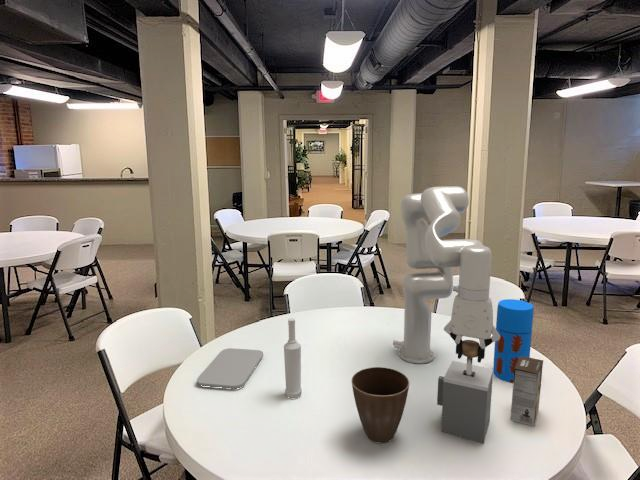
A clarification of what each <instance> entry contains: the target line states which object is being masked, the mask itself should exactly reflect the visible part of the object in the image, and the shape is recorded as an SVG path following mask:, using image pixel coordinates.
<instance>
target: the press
mask: <svg viewBox="0 0 640 480" xmlns="http://www.w3.org/2000/svg"><path fill="white" fill-rule="evenodd" d="M466 368H467V362H462V361H455V360H452V361H451V362H450V364H449V366H448V368H447V370H446V373H445V374H444V376H443V375H441V376H440V375H439V376H438V378H437V397H436V406H440V407H441V426H440V428H441V429H440V433H443V434H446V435H449V436H453V437H458V438H460V439H464V440H466V441H467V440H468V441H470V442H474V443H479V444H482V445H484V444H485V441H486V437H487V432H488V430H489V426H490V425H489V424H490V422H491V421H490V420H491V410H492V409H491V408H492V407H491V406H492V396H493V395H492V394H493V380H494V368H492V367H491V368H490V367H485V366H482V365H475V364H472V377H471V376H466Z"/></svg>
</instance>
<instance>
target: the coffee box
mask: <svg viewBox="0 0 640 480" xmlns="http://www.w3.org/2000/svg"><path fill="white" fill-rule="evenodd" d="M543 365H544V360H543V359H538V358H533V357H530V358H529V357H523V356H520V357H519V359H518V361H517V364H516V366H515V368H514V381H513V383H512V397H511V409H510V421H514V422H517V423H519V424H520V423H521V424H525V425H528V426H531V427H534V426H535V425H536V420H537V417H538V414H539V411H540V410H539V409H540V400H541V399H540V398H541V388H542V380H543V379H542V377H543V368H544V367H543Z"/></svg>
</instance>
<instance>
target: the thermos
mask: <svg viewBox="0 0 640 480" xmlns="http://www.w3.org/2000/svg"><path fill="white" fill-rule="evenodd" d="M496 310H497V311H496V320H495V321H496V322H495V323H496V324H495V325H496V326H495V329H496V330H497V332H498V333H499V335H500V339H499V340H498V341H495V342H494V351H493V376H494V377H496V379H499V380H501V381H502V382H506V383H511V384H513V381H514V368H515V366H516V364H517V361H518V359H519V357H520V356H523V357H529V358H531V347H532V346H531V345H532V333H533V324H534V323H533V322H534V311H535V310H534V305H533V304H532V303H530V302H528V301H526V300H520V299H515V298H513V299H512V298H511V299H510V298H509V299H508V298H507V299H501V300H499V301H498V304H497V309H496Z"/></svg>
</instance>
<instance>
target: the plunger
mask: <svg viewBox="0 0 640 480" xmlns="http://www.w3.org/2000/svg"><path fill="white" fill-rule="evenodd" d="M479 346H480V342H478V341H476V340H473V339H464V340H462V352H461V353H462V356H464V357H466V364H467V368H466V376H471V377H472V365H473V358H478V348H479Z"/></svg>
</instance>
